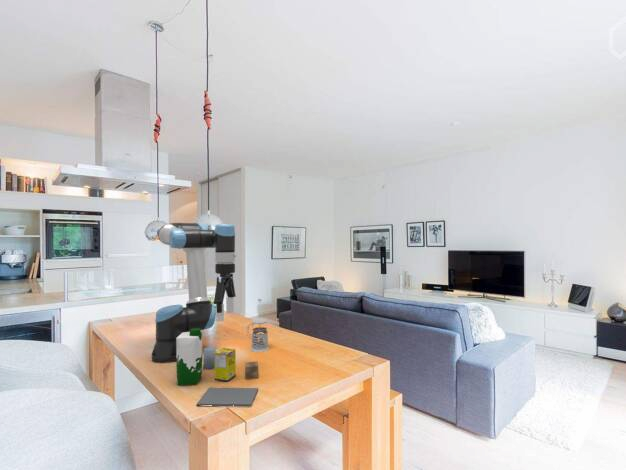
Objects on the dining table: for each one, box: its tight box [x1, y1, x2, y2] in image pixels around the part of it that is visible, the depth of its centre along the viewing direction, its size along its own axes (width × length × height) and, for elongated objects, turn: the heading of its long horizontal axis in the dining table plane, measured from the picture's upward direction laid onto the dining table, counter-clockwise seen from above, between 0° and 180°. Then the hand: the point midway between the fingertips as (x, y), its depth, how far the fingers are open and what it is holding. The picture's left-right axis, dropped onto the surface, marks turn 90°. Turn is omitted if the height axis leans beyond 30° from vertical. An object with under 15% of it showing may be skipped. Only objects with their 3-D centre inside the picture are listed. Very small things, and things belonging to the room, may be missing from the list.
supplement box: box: [214, 347, 237, 383], centre depth 131 cm, size 6×6×11 cm
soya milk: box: [176, 328, 203, 386], centre depth 128 cm, size 9×9×20 cm
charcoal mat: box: [196, 387, 259, 407], centre depth 115 cm, size 18×12×1 cm, turn 88°
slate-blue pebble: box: [202, 346, 217, 371], centre depth 142 cm, size 5×5×8 cm
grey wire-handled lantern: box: [246, 298, 270, 353], centre depth 167 cm, size 10×12×25 cm
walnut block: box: [244, 361, 259, 381], centre depth 133 cm, size 5×5×5 cm
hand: (225, 317), depth 131 cm, fingers open, 13 cm apart
